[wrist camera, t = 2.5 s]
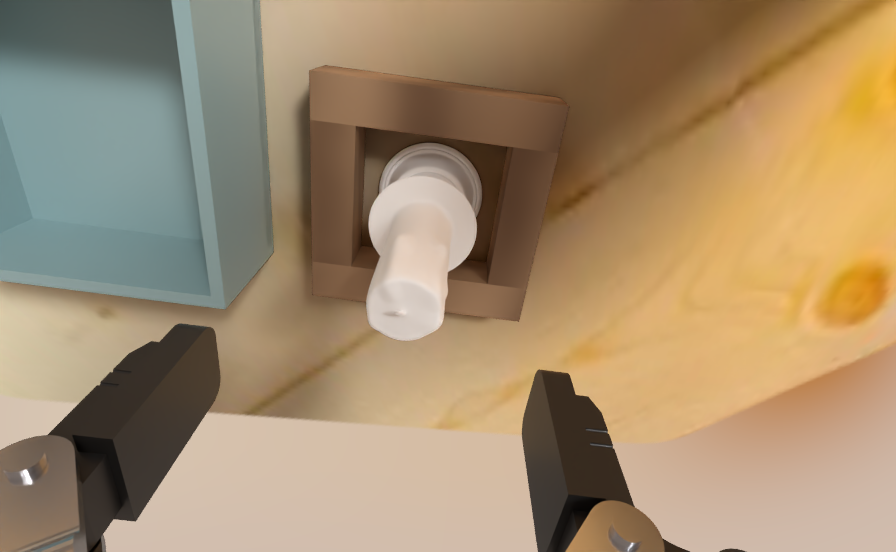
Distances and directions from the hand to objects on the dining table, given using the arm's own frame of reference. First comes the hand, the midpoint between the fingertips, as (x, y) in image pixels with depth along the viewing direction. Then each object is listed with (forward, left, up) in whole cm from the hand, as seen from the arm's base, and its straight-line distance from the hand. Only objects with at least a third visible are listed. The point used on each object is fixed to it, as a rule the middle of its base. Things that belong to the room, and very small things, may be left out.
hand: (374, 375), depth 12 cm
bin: (+15, -2, -15) cm, 21 cm away
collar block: (0, 0, -15) cm, 15 cm away
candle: (0, 0, -15) cm, 15 cm away
